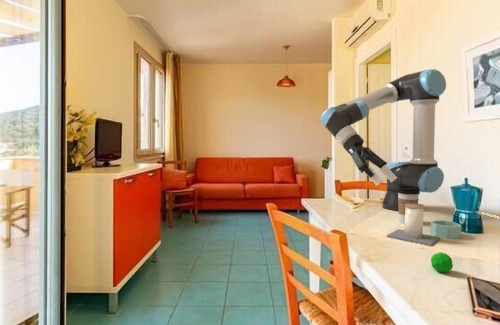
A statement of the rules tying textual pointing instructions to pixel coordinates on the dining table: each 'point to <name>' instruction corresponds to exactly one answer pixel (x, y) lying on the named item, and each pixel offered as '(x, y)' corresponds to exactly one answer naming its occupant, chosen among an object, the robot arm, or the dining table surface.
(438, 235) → the bowl
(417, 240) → the mat
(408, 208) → the tumbler
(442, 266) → the polyhedron
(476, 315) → the dining table surface
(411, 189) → the coffee cup
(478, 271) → the dining table surface
